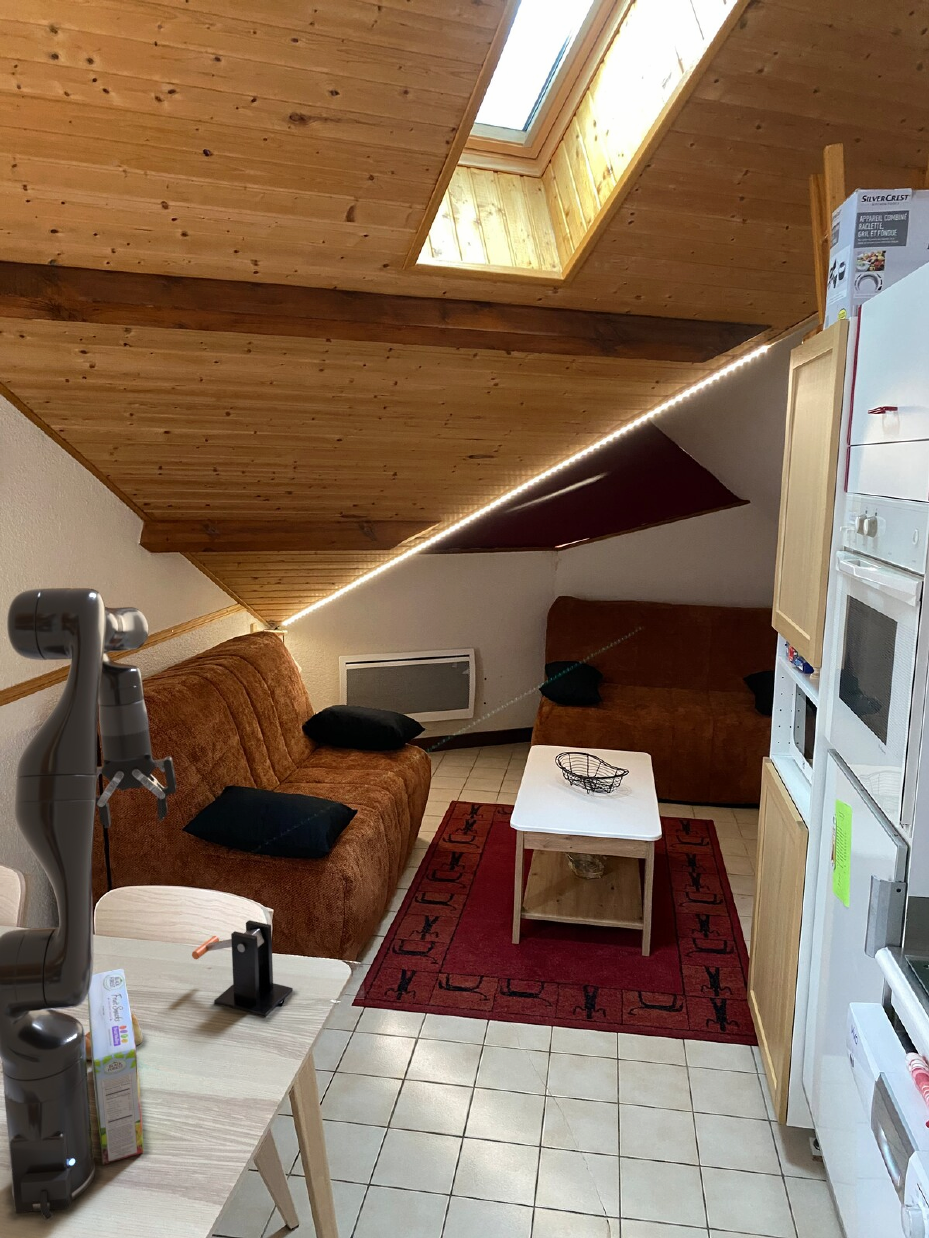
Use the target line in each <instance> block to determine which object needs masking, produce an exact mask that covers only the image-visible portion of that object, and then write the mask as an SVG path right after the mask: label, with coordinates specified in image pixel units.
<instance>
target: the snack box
mask: <svg viewBox="0 0 929 1238" xmlns="http://www.w3.org/2000/svg"><path fill="white" fill-rule="evenodd" d="M126 983H127V982H126V976H125V971H124V968H123V967H121V968H117V969H113V970H109V971H103V972H98V973H93V974H92V982H91V986H90V990H89V993H88V995H87V1004H88V1007H87V1009H88V1024H89V1032H90V1042H91V1056H92V1060H91V1067H92V1079H93V1087H94V1099H95V1107H96V1116H97V1125H98V1134H99V1142H100V1143H99V1144H100V1150H101V1162H102V1165H106V1164H110V1163H114V1162H116V1161H120V1160H123V1159H127V1158H129V1157H133V1156H136V1155H139V1154H142V1153H144V1137H143V1135H144V1134H143V1122H142V1121H143V1120H142V1106H141V1105H142V1104H141V1092H140V1081H139V1080H140V1079H139V1066H138V1057H137V1056H138V1055H137V1047H136V1046H137V1045H136V1046H135V1038H134V1031H133V1025H132V1018H131V1013H132V1012H131V1006H130V1000H129V995H128V988H127V984H126Z"/></svg>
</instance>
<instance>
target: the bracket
mask: <svg viewBox="0 0 929 1238" xmlns="http://www.w3.org/2000/svg"><path fill="white" fill-rule="evenodd" d="M254 929H260V931H261V934H262V937H263V939H264V943H262V944H261V945H260V946H259V947H258V943H257V936H254V935H249V934H245V932H246V931H249V930H254ZM245 932H240V931H233V932H231V933H230V936H231V937H230V939H231V942H232V947H231V961H232V962H231V964H232V984H231V985H230V986H229V987H228V988H227V989H226V990H225V991H223V992H221V994H219V996H217V998H215V999H214V1001H213V1003H214V1005H218V1006H222V1007H224V1008H229V1009H233V1010H237V1011H241V1012H244V1013H248V1014H252V1015H256V1016H259V1017H263V1018H266V1017H268V1016H269V1015H270V1014H271V1013H272V1012H273V1010H276V1008H277V1007H278V1006H279V1005H280V1004H281V1003H282V1002H284V1001H285V999H286V998H287V997H288V996H289V995H290V994H291V993H292V992H294V990H293V987H290V986H287V985H283V984H279V983H275V982H274V970H273V965H274V964H273V943H272V942H273V941H272V938H273V937H272V935H273V934H272V925H271V924H268V923H264V922H260V921H255V920H250V919H248V920H247V921H246V922H245Z"/></svg>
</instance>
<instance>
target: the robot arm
mask: <svg viewBox="0 0 929 1238" xmlns="http://www.w3.org/2000/svg"><path fill="white" fill-rule="evenodd" d="M105 605H106V604H105V600H104V598H103V596H102V594H101V593H100V592H99V591H98V590H96V589H94V588H85V587H74V588H72V587H63V588H59V587H57V588H56V587H55V588H51V587H49V588H34V589H33V588H32V589H27V590H24V591H21V592H20V593H18V594H17V595H16V596H15V597H14V598H13V599H12V601H11V602H10V605H9V608H8V611H7V617H6V630H7V637H8V641H9V643H10V645H11V648H12V649H13V650H14V652H16V654H17V655H19V656H20V657H22V658H25V659H28V660H35V661H55V660H56V661H58V660H71V661H70V665H69V666H70V667H69V672H68V675H67V679H66V681H65V685H64V688H63V689H62V692H61V694H60V697H59V699H58V701H57V702H56V704H55V705H54V707H53V708H52V710H51V712H50V713H49V714H48V716H47V717H46V719H45V720H43V723H42V724H40V726H39V728H38V729H37V730H36V732H35V733H34V735H33V736H32V737H31V738H30V740H29V741H28V743H27V744H26V746H25V747H24V749H23V751H22V753H21V755H20V756H19V759H18V762H17V766H16V771H15V772H16V773H15V777H16V778H15V790H14V807H13V808H14V810H13V815H14V820H15V823H16V826H17V828H18V831H19V832H20V835H21V836H22V838H23V840H24V841H25V843H26V844H27V846H28V848H29V849H30V851H31V852H32V854H33V855H34V856H35V859H36V860H37V861H38V863H39V864H40V866H41V868H42V869H43V871H44V872H45V874H46V877H47V878H48V880H49V883H50V885H51V887H52V889H53V892H54V897H55V900H56V904H57V910H58V923H59V926H54V927H52V926H51V927H39V928H23V929H13V930H9V931H6V932H4V933H2V934H1V936H0V1061H1V1071H2V1072H1V1073H2V1081H3V1095H4V1105H5V1118H6V1129H7V1140H8V1141H7V1142H8V1152H9V1162H10V1171H11V1172H10V1173H11V1194H12V1199H13V1202H14V1211H15V1213H26V1212H41V1214H42V1217H44V1218H45V1219H46V1220H50V1219H51V1218H52V1217H53V1214H52V1212H51V1211H52V1210H64V1209H68V1208H69V1207H71V1203H72V1202H73V1201H74V1200H75V1199H77V1198H78V1197H79V1196H80V1195H82V1194H83V1193H84V1192H85V1191H86V1190H87V1189H88V1188H89V1186H90V1185H91V1183H92V1182H93V1180H94V1178H95V1174H96V1163H95V1162H96V1160H95V1156H94V1143H93V1132H92V1118H91V1117H92V1116H91V1105H90V1093H89V1092H90V1090H89V1089H90V1088H89V1079H88V1063H87V1059H86V1044H85V1035H86V1033H85V1028H84V1025H83V1024H82V1023H81V1021H80V1020H79V1019H78V1018H76V1017H75V1016H72V1015H71V1014H68V1013H65V1012H61V1011H58V1010H63V1009H71V1008H76V1007H79V1006H81V1005H82V1004H83V1003H84V1002H85V1001H86V999H87V998H88V993H89V990H90V986H91V982H92V975H93V974H94V962H95V961H94V957H95V956H94V953H95V952H94V915H93V913H94V912H93V879H92V878H93V877H92V875H93V874H92V873H93V869H92V868H93V850H94V832H95V818H96V806H97V808H98V816H99V822H100V824H101V826H104V828H105V829H107V828H111V825H112V818H111V811H110V802H108V801H109V798H110V797H111V796H112V795H113V793H114V792H115V791H116V789H117V790H120V791H127V790H129V789H141V788H142V787H145V788H146V789H148V791H149V792H152V793H153V795H154V796H156V797H157V798H156V808H157V815H158V821H159V822H160V821H164V820H165V817H167V815H168V812H169V809H168V800H167V799H168V796H170V795H174V794H175V793H176V792H177V788H178V785H177V777H176V772H175V767H174V762H173V758H172V756H170V755H167V756H166V757H165V758H159V759H155V758H154V757H153V753H152V745H151V736H150V726H149V725H150V721H149V720H150V719H149V716H148V710H147V707H146V703H145V696H144V694H145V693H144V687H143V685H144V684H143V676H142V671H141V669H140V668H139V666H136V665H134V664H128V663H120V662H116V661H114V660H113V659H112V658H111V657H110V656H109V654H108V653H114V652H127V651H134V650H138V649H140V648H142V647H143V646H144V645H145V643H146V642H147V640H148V637H149V633H150V630H149V629H150V628H149V627H150V626H149V623H148V619H147V617H146V616H145V613H143V612H142V611H141V610H140V609H138V608H137V607H133V606H131V607H130V606H128V607H127V606H126V607H107V606H105ZM98 724H99V732H100V739H101V740H100V741H101V749H102V759H103V765H102V766H98ZM156 768H158V769H159V771H160V772H162V773H164V774H165V779H166V784H167V785H166V786H165V787H164V786H163V785H162V784H161V783H160V782H159V781H158V779H157V778H156V777H155V776H153V772H154V770H155V769H156ZM101 774H102V775H103V777H105V779H106V780H107V781H108V782H109V783H108V784H107V786H106V788H105V789H104V791H103V792H102V794H101V795H98V794H97V786H98V785H97V784H98V783H97V782H98V779H99V777H100V776H99V775H101Z"/></svg>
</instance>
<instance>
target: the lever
mask: <svg viewBox="0 0 929 1238" xmlns="http://www.w3.org/2000/svg"><path fill="white" fill-rule="evenodd" d="M244 933H245V934H249V935H254V936H257V943H258V947H259V946H260V945H261V944H262V943H264V939H263V937H262V934H261V931H260V929H254V930H249V931H246V930H245V932H244ZM228 948H232V942H231V938H230V939H223V940H220V938H219V937H218V936H216V935H214V936H212V937H210V938H209V939H208V940H207V941H205V942H204V943H203V944H201V945H200V946H198V947H197V948H196V949H194V950H193V951H192V952H191V957H192V958H193V959H194V960H199V959H200V958H202V956H204V955H205V954H207V953H208V952H210V951H211V952H212V951H217V950H221V949H222V950H223V949H228Z"/></svg>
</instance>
